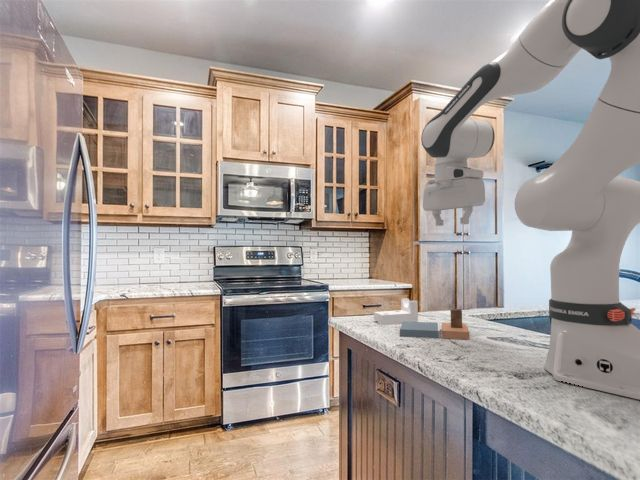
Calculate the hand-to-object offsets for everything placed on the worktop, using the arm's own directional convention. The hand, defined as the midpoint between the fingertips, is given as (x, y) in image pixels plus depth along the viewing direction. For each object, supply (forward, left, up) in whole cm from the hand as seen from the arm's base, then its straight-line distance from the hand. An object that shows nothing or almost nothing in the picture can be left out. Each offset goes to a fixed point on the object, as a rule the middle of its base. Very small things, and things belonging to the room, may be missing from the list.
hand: (451, 225), depth 107 cm
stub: (+3, -3, -31) cm, 32 cm away
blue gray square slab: (+9, +4, -31) cm, 33 cm away
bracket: (+26, -1, -32) cm, 41 cm away
